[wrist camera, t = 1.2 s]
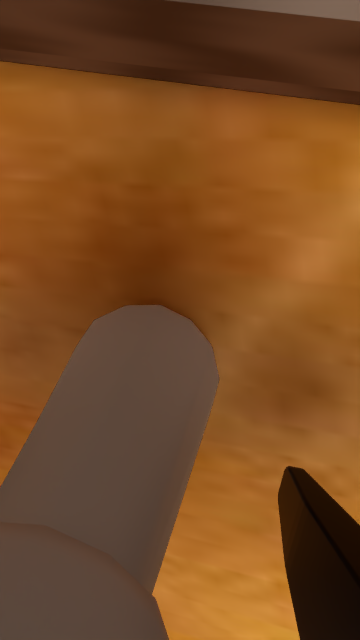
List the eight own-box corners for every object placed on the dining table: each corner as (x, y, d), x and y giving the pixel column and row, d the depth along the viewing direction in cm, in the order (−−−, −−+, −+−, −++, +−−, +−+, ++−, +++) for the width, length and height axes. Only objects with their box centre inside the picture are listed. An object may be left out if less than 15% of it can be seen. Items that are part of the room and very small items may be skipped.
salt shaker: (77, 377, 16) (-431, 937, 3) (120, 271, 14) (-560, 580, 2) (185, 427, 16) (90, 1137, 3) (240, 328, 14) (432, 992, 2)
